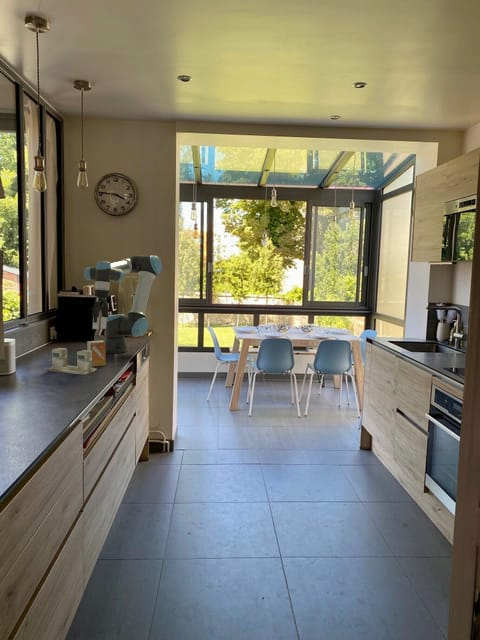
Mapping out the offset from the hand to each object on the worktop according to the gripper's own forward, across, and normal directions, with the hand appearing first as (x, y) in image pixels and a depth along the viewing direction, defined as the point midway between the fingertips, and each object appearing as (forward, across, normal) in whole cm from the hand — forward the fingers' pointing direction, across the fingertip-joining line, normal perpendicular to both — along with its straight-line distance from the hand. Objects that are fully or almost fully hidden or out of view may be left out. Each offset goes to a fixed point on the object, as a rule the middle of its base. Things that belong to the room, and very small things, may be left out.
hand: (99, 328), depth 238 cm
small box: (+20, 0, 0) cm, 20 cm away
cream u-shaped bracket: (+22, +13, -8) cm, 27 cm away
